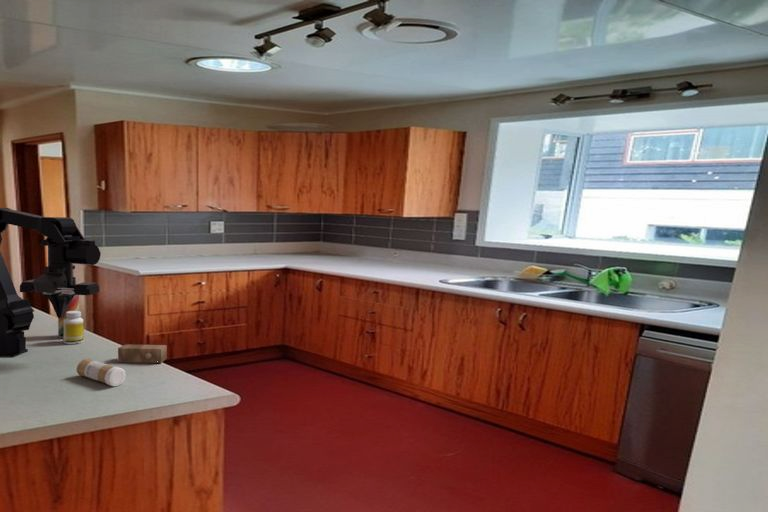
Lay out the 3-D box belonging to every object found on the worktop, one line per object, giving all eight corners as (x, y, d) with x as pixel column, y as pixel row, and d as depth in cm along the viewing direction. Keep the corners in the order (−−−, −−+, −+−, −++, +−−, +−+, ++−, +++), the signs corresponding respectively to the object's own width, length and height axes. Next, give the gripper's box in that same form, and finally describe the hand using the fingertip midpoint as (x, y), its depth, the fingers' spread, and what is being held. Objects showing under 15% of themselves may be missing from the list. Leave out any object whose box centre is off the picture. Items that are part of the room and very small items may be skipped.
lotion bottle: (57, 339, 159) (57, 277, 158) (59, 335, 164) (59, 275, 163) (78, 338, 162) (78, 277, 160) (79, 334, 167) (79, 275, 165)
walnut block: (117, 348, 141) (160, 349, 142) (124, 344, 145) (166, 345, 146) (117, 362, 141) (160, 363, 142) (124, 358, 146) (166, 359, 146)
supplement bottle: (86, 342, 158) (87, 312, 157) (68, 345, 154) (68, 314, 153) (78, 339, 161) (78, 309, 160) (60, 342, 157) (59, 311, 156)
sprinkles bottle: (86, 378, 130) (119, 389, 124) (72, 371, 127) (105, 382, 121) (96, 362, 132) (129, 372, 126) (82, 355, 129) (116, 365, 123)
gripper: (4, 264, 130) (5, 322, 131) (78, 267, 131) (77, 326, 132) (33, 259, 141) (33, 313, 142) (100, 263, 142) (100, 316, 143)
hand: (60, 317), depth 140 cm, fingers closed
